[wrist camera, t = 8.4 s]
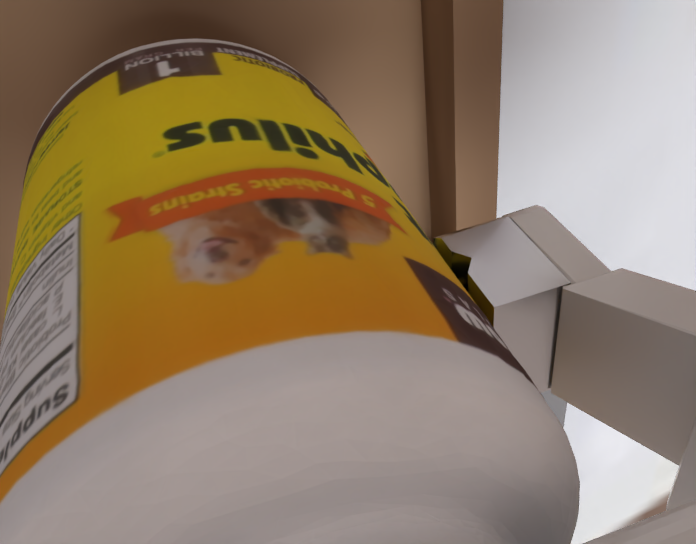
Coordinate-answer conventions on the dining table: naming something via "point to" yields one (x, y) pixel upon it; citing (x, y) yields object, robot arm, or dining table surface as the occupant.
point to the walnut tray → (309, 60)
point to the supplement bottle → (249, 333)
